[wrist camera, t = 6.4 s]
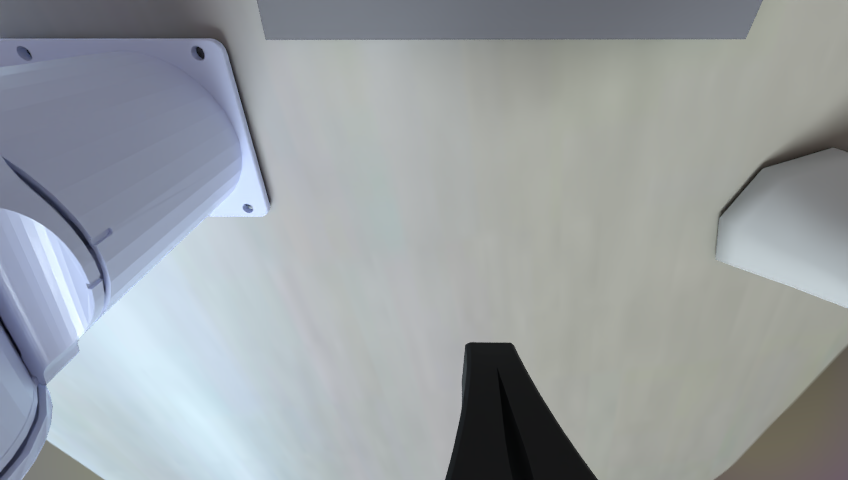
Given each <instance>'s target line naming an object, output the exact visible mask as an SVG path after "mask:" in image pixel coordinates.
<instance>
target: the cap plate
mask: <svg viewBox="0 0 848 480" xmlns="http://www.w3.org/2000/svg"><path fill="white" fill-rule="evenodd" d="M762 1H763V0H257V3H258V7H259V12H260V16H261V21H262V25H263V30H264V34H265V39H266V40H426V39H746V37H747V35H748V32H749V30H750V28H751V26H752V23H753V21H754V19H755V17H756V14H757V12H758V10H759V8H760V5H761V3H762Z"/></svg>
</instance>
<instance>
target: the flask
mask: <svg viewBox="0 0 848 480" xmlns="http://www.w3.org/2000/svg"><path fill="white" fill-rule="evenodd" d="M716 260H718V261H721V262H724V263H726V264H729V265H731V266H734V267H737V268H740V269H743V270H745V271H748V272H751V273H754V274H757V275H760V276H762V277H765V278H768V279H771V280H774V281H777V282H780V283H782V284H785V285H788V286H791V287H793V288H796V289H799V290H801V291H804V292H806V293H809V294H812V295H814V296H817V297H819V298H822V299H825V300H827V301H830V302H832V303H835V304H838V305H840V306H843V307H845V308H848V152H846V151H843V150H840V149H837V148H834V147H833V148H830V149H827V150H823V151H820V152H817V153H813V154H810V155H806V156H803V157H800V158H796V159H793V160H790V161H786V162H783V163H780V164H776V165H773V166H770V167H766V168H763V169H762V170H761V171H760V172H759V173H758V174H757V176H756V177H755V178H754V179H753V180H752V181H751V182H750V184H749V185H748V186H747V187H746V188H745V189H744V191H743V192H742V193H741V194H740V195H739V196H738V197H737V199H736V200H735V201H734V202H733V203H732V204H731V205H730V207H729V208H728V209H727V210H726V211H725V212H724V213H723V215H722V216H721V217H720V218H719V226H718V237H717V248H716Z"/></svg>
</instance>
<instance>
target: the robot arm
mask: <svg viewBox="0 0 848 480" xmlns="http://www.w3.org/2000/svg"><path fill="white" fill-rule="evenodd" d="M197 46H198V47H200V48H201V49H202V50H203V52H204V53H205V58H204V59H202V58H200V57H199V56H198V54H197V50H196V48H197ZM26 49H28V51H29V52H30V53H31V55H32V57H31V56H30V55H29V54H28V53H27V50H26ZM246 204H249V205H251V206H252V208H253V209H250V208H248V207H247V206H246ZM269 210H270V204H269V200H268V197H267V193H266V190H265V186H264V182H263V179H262V175H261V172H260V168H259V165H258V161H257V157H256V154H255V150H254V147H253V143H252V140H251V136H250V133H249V129H248V125H247V122H246V118H245V115H244V111H243V108H242V104H241V100H240V97H239V93H238V90H237V86H236V83H235V79H234V75H233V72H232V68H231V65H230V61H229V58H228V54H227V51H226V49H225V47H224V46H223V45H222V44H221V42H219V41H217V40H216V39H212V38H21V39H0V480H22V479H23V477H24V476H25V475H26V473H27V472H28V470H29V469H30V468H31V466H32V465H33V463H34V462H35V460H36V458H37V457H38V455H39V453H40V451H41V449H42V447H43V445H44V443H45V441H46V438H47V435H48V432H49V429H50V425H51V419H52V407H53V406H52V401H51V396H50V392H49V390H48V388H47V387H46V384H47V383H48V382H49V381H50V380H51V379H52V378H53V377H54V376H55V375H56V374H57V373H58V372H60V371H61V370H62V369H63V368H64V367H65V366H66V365H67V364H68V363H69V362H70V361H71V360H72V359H73V358H74V357H75V356H76V355H77V354H78V353H79V347H78V339H79V338H80V337H81V336H82V335H83V334H84V333H85V332H86V331H87V330H88V329H89V328H90V327H91V326H92V325H93V324H94V323H95V322H96V321H97V320H98V319H99V318H100V317H101V316H102V315H104V314H105V313H106V312H107V311H108V310H109V309H110V308H111V307H112V306H113V305H114V304H115V303H116V302H117V301H118V300H119V299H120V298H122V297H123V296H124V295H125V294H126V293H127V292H128V291H129V290H130V289H131V288H132V287H133V286H134V285H135V284H136V283H137V282H138V281H140V280H141V279H142V278H143V277H144V276H145V275H146V274H147V273H148V272H149V271H150V270H151V269H152V268H153V267H154V266H155V265H156V264H158V263H159V262H160V261H161V260H162V259H163V258H164V257H165V256H166V255H167V254H168V253H169V252H170V251H171V250H172V249H173V248H174V247H176V246H177V245H178V244H179V243H180V242H181V241H182V240H183V239H184V238H185V237H186V236H187V235H188V234H189V233H190V232H191V231H192V230H194V229H195V228H196V227H197V226H198V225H199V224H200V223H201V222H202V221H203V220H204V219H205V218H206V217H207V216H252V217H261V216H265V215H266V214H267V213H268V212H269ZM445 480H598V479H597V478H596V477H595V475H594V474H593V473H592V471H591V470H590V468H589V467H588V466H587V464H586V463H585V462H584V460H583V459H582V457H581V456H580V455H579V453H578V452H577V450H576V449H575V447H574V446H573V445H572V443H571V442H570V440H569V439H568V437H567V436H566V434H565V433H564V431H563V430H562V428H561V427H560V425H559V424H558V422H557V421H556V419H555V418H554V416H553V414H552V413H551V411H550V410H549V408H548V406H547V405H546V403H545V402H544V400H543V398H542V397H541V395H540V393H539V392H538V390H537V388H536V387H535V385H534V383H533V381H532V379H531V378H530V376H529V374H528V372H527V370H526V369H525V367H524V365H523V363H522V361H521V359H520V357H519V355H518V353H517V351H516V349H515V347H514V345H513V344H512V343H476V342H470V343H468V344H466V345H465V355H464V365H463V375H462V410H461V416H460V421H459V426H458V430H457V435H456V439H455V444H454V448H453V452H452V456H451V460H450V464H449V468H448V472H447V475H446V479H445Z"/></svg>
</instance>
